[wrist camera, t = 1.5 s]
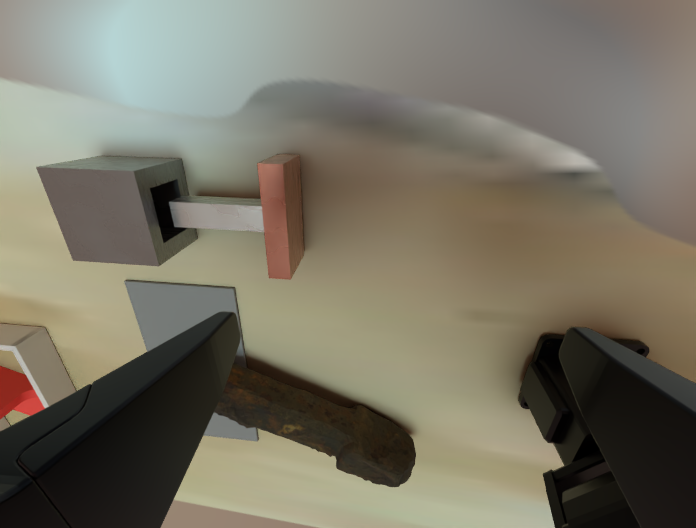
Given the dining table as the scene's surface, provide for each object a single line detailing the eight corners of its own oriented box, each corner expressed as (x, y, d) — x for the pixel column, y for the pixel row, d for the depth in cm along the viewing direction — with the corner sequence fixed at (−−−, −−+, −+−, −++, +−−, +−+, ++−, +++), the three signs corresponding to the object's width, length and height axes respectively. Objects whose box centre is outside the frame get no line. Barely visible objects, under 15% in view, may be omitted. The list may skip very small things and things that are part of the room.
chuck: (181, 158, 19) (133, 170, 15) (197, 238, 21) (158, 266, 17) (101, 155, 19) (36, 167, 16) (125, 234, 21) (73, 260, 18)
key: (299, 154, 18) (282, 164, 15) (303, 255, 20) (290, 279, 17) (184, 150, 18) (146, 159, 15) (203, 248, 21) (174, 271, 18)
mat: (234, 287, 22) (233, 289, 22) (258, 439, 29) (257, 441, 29) (126, 279, 23) (124, 281, 23) (175, 430, 30) (173, 432, 30)
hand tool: (189, 367, 26) (152, 417, 22) (201, 333, 24) (163, 380, 20) (395, 450, 28) (398, 510, 24) (420, 425, 26) (427, 484, 22)
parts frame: (44, 327, 26) (15, 346, 24) (109, 460, 33) (91, 483, 31) (-66, 317, 27) (-104, 335, 25) (22, 449, 34) (-2, 471, 32)
